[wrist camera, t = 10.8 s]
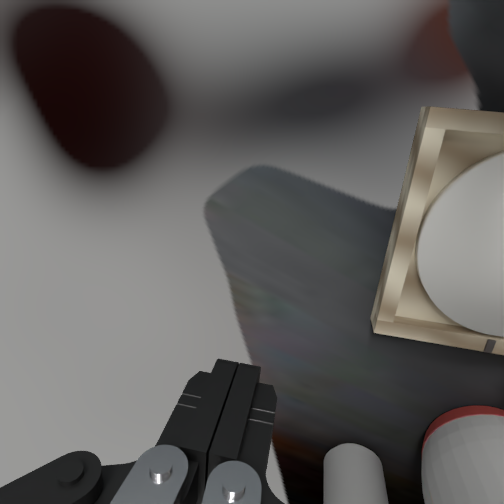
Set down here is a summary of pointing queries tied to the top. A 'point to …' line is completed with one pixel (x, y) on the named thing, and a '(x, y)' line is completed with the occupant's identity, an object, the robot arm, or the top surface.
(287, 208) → the top surface
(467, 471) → the citrus juicer
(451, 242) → the dial
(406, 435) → the top surface
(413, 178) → the dial housing
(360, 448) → the can
